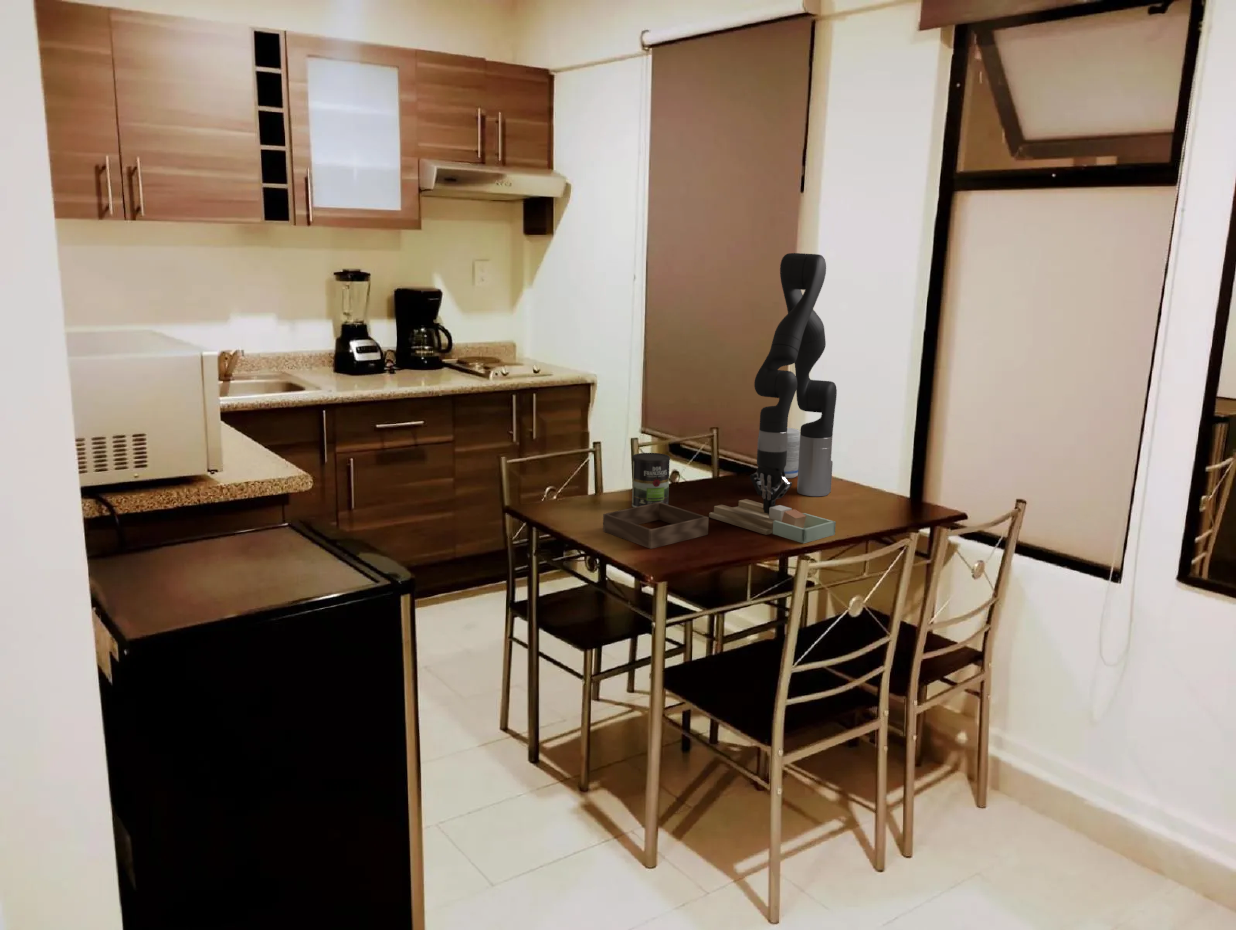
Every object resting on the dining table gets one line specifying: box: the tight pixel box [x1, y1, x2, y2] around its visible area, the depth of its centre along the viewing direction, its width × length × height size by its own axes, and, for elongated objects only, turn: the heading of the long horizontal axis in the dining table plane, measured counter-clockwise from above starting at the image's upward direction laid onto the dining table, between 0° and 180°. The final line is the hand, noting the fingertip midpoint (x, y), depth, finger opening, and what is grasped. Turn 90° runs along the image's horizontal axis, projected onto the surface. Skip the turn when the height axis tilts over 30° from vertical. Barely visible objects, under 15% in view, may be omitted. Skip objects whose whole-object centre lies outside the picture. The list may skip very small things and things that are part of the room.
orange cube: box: [782, 508, 806, 528], centre depth 239 cm, size 4×4×4 cm
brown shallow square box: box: [602, 502, 710, 549], centre depth 236 cm, size 19×18×4 cm
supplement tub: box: [784, 427, 800, 479], centre depth 298 cm, size 10×10×15 cm
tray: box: [772, 512, 837, 544], centre depth 237 cm, size 12×10×3 cm
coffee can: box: [631, 452, 671, 508], centre depth 260 cm, size 10×10×14 cm
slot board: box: [708, 498, 775, 535], centre depth 249 cm, size 16×20×3 cm
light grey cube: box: [769, 504, 793, 522], centre depth 242 cm, size 4×4×4 cm
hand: (768, 513), depth 245 cm, fingers closed
